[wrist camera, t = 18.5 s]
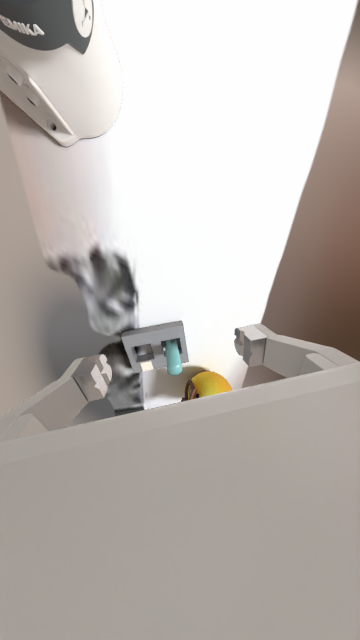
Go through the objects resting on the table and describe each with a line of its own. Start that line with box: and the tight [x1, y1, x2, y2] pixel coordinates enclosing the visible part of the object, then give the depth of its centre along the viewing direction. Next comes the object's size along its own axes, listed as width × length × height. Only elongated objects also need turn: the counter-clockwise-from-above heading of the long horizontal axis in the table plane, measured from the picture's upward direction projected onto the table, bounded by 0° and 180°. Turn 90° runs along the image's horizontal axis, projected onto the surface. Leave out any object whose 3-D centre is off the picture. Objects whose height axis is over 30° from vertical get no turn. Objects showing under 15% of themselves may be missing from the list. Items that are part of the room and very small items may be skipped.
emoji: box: [181, 371, 232, 402], centre depth 47 cm, size 16×16×15 cm
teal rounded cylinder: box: [165, 339, 182, 375], centre depth 40 cm, size 4×4×12 cm
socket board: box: [121, 321, 189, 373], centre depth 44 cm, size 13×17×3 cm
